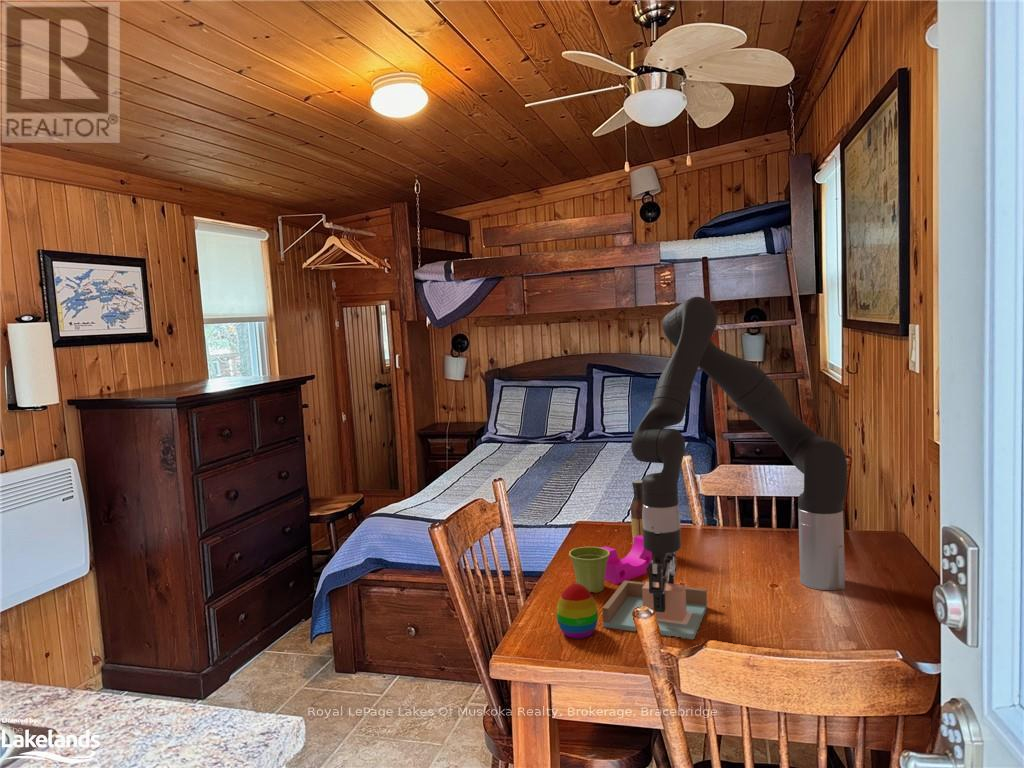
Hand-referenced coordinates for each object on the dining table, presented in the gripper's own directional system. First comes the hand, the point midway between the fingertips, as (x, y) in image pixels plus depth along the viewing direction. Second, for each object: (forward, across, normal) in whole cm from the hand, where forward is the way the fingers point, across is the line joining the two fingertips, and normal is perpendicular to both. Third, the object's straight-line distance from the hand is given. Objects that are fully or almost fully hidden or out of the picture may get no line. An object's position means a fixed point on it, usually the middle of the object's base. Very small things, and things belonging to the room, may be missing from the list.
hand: (664, 603), depth 139 cm
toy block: (+4, -24, -14) cm, 28 cm away
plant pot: (+4, -12, -20) cm, 24 cm away
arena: (+4, -1, -2) cm, 4 cm away
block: (+3, 0, 0) cm, 3 cm away
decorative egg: (+4, +11, -15) cm, 19 cm away
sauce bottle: (+4, -39, -14) cm, 42 cm away
